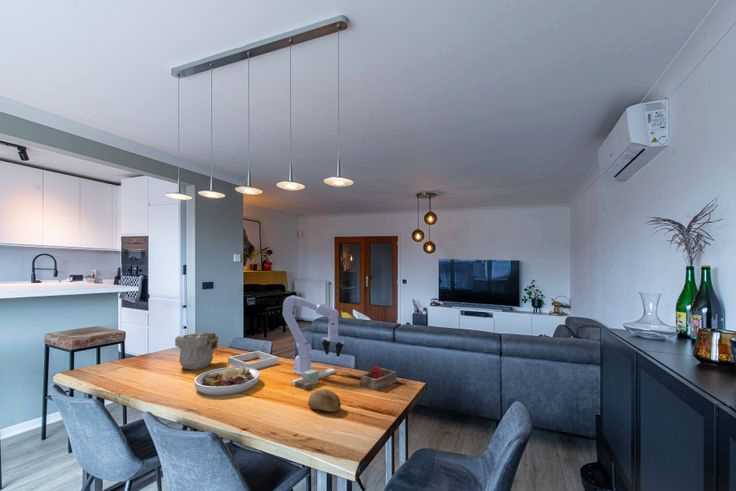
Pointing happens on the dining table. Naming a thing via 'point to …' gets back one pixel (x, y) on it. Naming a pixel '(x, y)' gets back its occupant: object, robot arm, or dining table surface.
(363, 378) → the wooden box
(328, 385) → the dining table surface
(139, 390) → the dining table surface
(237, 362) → the frame
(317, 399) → the bread roll
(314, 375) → the cabinet block
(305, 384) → the cleat
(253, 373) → the bowl
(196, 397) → the dining table surface
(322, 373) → the white flat plank
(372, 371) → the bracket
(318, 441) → the dining table surface
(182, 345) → the ceramic vessel
